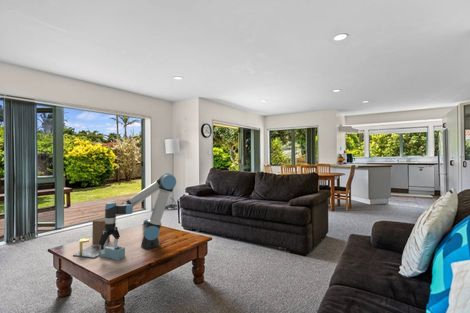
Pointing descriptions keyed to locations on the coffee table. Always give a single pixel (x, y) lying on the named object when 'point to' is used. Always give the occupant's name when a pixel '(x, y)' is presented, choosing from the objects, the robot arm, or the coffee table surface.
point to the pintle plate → (89, 250)
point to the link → (113, 252)
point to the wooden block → (98, 230)
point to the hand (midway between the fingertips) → (109, 250)
